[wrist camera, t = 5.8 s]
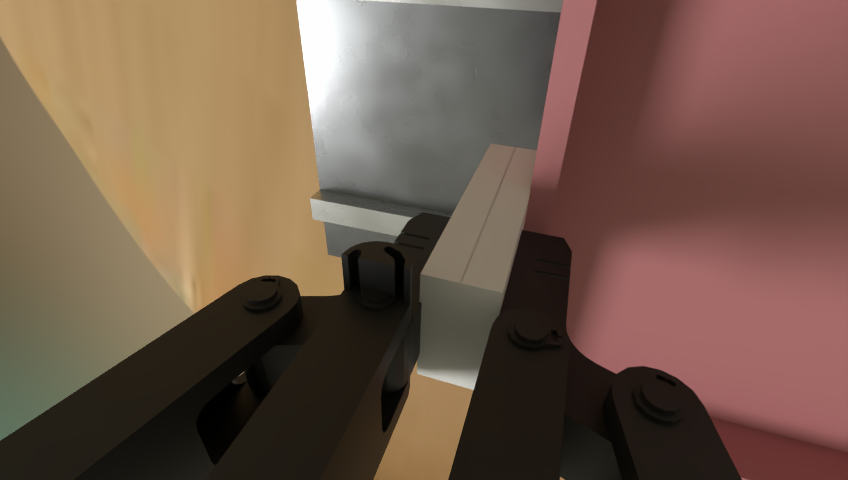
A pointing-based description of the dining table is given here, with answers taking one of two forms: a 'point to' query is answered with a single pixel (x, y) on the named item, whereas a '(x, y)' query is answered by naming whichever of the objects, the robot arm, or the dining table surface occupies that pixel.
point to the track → (417, 102)
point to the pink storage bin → (709, 210)
